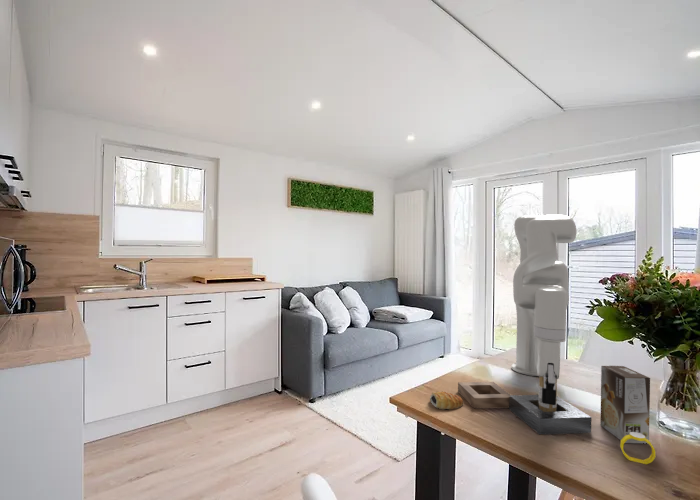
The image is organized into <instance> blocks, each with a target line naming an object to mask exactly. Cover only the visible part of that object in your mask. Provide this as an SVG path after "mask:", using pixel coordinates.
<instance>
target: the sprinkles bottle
mask: <svg viewBox="0 0 700 500" xmlns="http://www.w3.org/2000/svg"><path fill="white" fill-rule="evenodd" d="M547 369H548V366H547ZM538 377H539V376H538ZM545 377H548V375H546V374H545ZM538 380H539V382H538V383H539V384H538V395H539V409H541V410H542V411H543V412H556V407H557V396H558V387H557V386H558V379H557V380H556V405H550V404H545V403H542V388H544V387H543V385H544V378H543V376H541V377H539V378H538ZM546 381H548V380H547V379H546Z"/></svg>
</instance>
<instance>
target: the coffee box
mask: <svg viewBox="0 0 700 500" xmlns="http://www.w3.org/2000/svg"><path fill="white" fill-rule="evenodd" d="M600 369H601V371H600V372H601V373H600V375H601V376H600V378H601V379H600V381H601V382H600V419H599V420H600V422H599V423H600V427H602V428H604V429H605V430H606V431H608V432H609V433H610V434H612V436H614V437H615V438H617V439H618V440H619V441H621V439H622V438H623V437H624V436H626V435H629V434H630V432H637V433H641V434H643V435H644V436H645V437H646V439H647V440H649V441H650V417H651V416H650V413H651V412H650V402H651V377H649V376H646V375H645V374H642V373H641V372H638V371H635V370H634V369H632V368H628V367H627V366H625V365H624V366H623V365H601V367H600ZM643 443H644V445H645V444H646V443H647V442H645V441H638V440H635V439H628V440H627V441H626V442H625V443H624V444H643ZM646 445H649V444H648V443H647V444H646Z"/></svg>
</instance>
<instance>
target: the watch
mask: <svg viewBox="0 0 700 500" xmlns="http://www.w3.org/2000/svg"><path fill="white" fill-rule="evenodd" d="M628 439H635V440H638V441H645V442H647V443H648V444H647V445H649V446H650V448H651V454H649V457H647V458H645V459H641V458H637V457H632V456H630V455H628V454H627V452H625V450H624V447H625V444H626V443H625V442H626V441H627V440H628ZM619 446H620V449H621V452H622V454H623V457H625V458H626V459H627V460H628V461H630V462H634V463H638V464H643V465H648V464H651V463H652V462H653V461H654V460H655V459H656V454H657V453H656V448H655V447H654V446H653V444H652V442H651V441H650V439H649V440H647V439H646V437H645V436H644V435H643V434H641V433H637V432H630V434H629V435H626V436H624V437H623V438H622V439H621V440H620V444H619Z"/></svg>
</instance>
